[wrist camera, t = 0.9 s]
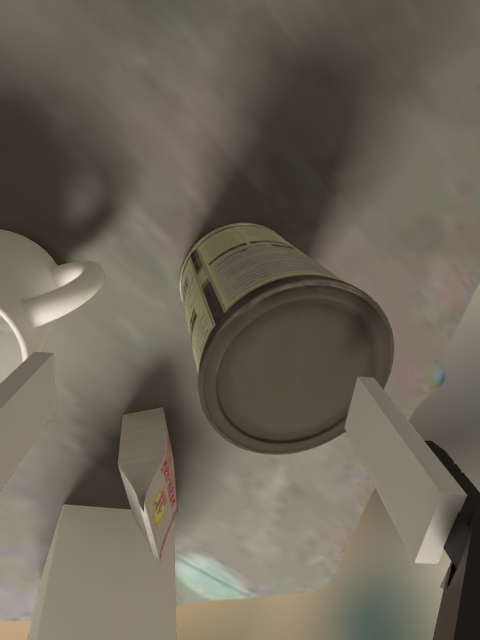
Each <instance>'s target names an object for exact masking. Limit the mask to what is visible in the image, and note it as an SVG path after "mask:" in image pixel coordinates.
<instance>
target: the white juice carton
mask: <svg viewBox="0 0 480 640" xmlns="http://www.w3.org/2000/svg"><path fill="white" fill-rule="evenodd" d="M118 467H119V470H120V473H121V477H122V480H123V483H124V487H125V490H126V493H127V497H128V500H129V503H130V507H131V510H132V513H133V517H134V520H135V522H136V524H137V525H138V527H139V529H140V530H141V532H142V534H143V535H144V537H145V539H146V540H147V542H148V544H149V546H150V548H151V550H152V552H153V555H154V559H155V562H156V556H157V557H158V559H159V561H160V560H161V554H162V550H163V547H164V544H165V540H166V537H167V535H168V533H169V530H170V528H171V525H172V523H173V520H174V518H175V515H176V513H177V511H178V509H177V496H176V482H175V469H174V458H173V453H172V448H171V443H170V438H169V433H168V428H167V423H166V419H165V414H164V409H163V407H161V408H156V409H151V410H145V411H140V412H135V413H130V414H124V415H123V417H122V427H121V437H120V447H119V457H118Z"/></svg>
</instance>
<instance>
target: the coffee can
mask: <svg viewBox="0 0 480 640" xmlns="http://www.w3.org/2000/svg"><path fill="white" fill-rule="evenodd" d="M179 289H180V296H181V301H182V304H183V306H184V311H185V316H186V320H187V325H188V330H189V334H190V339H191V344H192V349H193V354H194V358H195V363H196V367H197V372H198V389H199V396H200V402H201V406H202V409H203V411H204V414H205V416H206V418H207V419H208V421H209V422H210V424H211V425H212V427H213V428H214V429H215V430H216V431H217V432H218V433H219V434H220V435H221V436H222V437H223V438H224V439H226V440H227V441H228V442H230V443H232V444H233V445H235V446H237V447H239V448H242V449H244V450H249V451H252V452H256V453H262V454H276V455H278V454H292V453H297V452H302V451H305V450H309V449H312V448H315V447H318V446H320V445H322V444H325V443H327V442H329V441H331V440H333V439H334V438H336V437H338V436H340V435H341V434H343V433H344V432H346V430H345V428H344V427H345V423H346V419H347V415H348V412H349V408H350V404H351V400H352V396H353V392H354V388H355V384H356V381H357V377H358V376H359V377H372V378H375V380H376V381H377V382H378V383H379V385H380V386H381V387H382V388H383V389H384V387H385V385H386V383H387V381H388V378H389V375H390V373H391V369H392V364H393V358H394V339H393V333H392V329H391V326H390V324H389V321H388V318H387V317H386V315H385V313H384V312H383V310H382V309H381V307H380V306H379V305H378V304H377V303H376V302H375V301H374V300H373V299H372V298H371V297H370V296H369V295H368V294H366V293H365V292H363V291H362V290H360V289H358V288H356V287H355V286H353V285H351V284H348V283H346V282H344V281H343V280H341V279H340V278H338V277H337V276H335V275H334V274H333V273H331V272H330V271H328V270H327V269H326V268H324V267H323V266H321V265H320V264H318V263H317V262H315V261H314V260H313V259H311V258H310V257H308V256H307V255H306V254H304V253H303V252H301V251H300V250H298V249H297V248H296V247H294V246H293V245H291V244H290V243H288V242H287V241H286V240H284V239H283V238H282V237H281V236H280V235H279V234H277V233H276V232H275V231H273V230H271V229H269V228H267V227H265V226H262V225H258V224H254V223H234V224H229V225H225V226H222V227H220V228H216V229H214V230H213V231H212V232H210V233H208V234H206V235H205V236H204V237H203V238H201V239H200V240H199V241H198V242H197V243H196V244H195V245H194V246H193V248H192V249H191V250H190V252H189V253H188V255H187V257H186V259H185V261H184V263H183V265H182V269H181V274H180V281H179Z"/></svg>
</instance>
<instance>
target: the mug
mask: <svg viewBox="0 0 480 640" xmlns="http://www.w3.org/2000/svg"><path fill="white" fill-rule="evenodd" d="M104 278H105V273H104V270H103V268H102V267H101V265H99V264H97V263H96V262H93V261H76V262H71V263H67V264H62V265H58V266H57V264H56V263H55V261H54V260H53V259H52V257H51V256H50V255H49V254H48V253H47V252H46V251H45V250H44V249H43V248H42V247H40V246H39V245H38V244H36V243H35V242H33V241H32V240H30V239H28V238H26V237H24V236H22V235H20V234H17V233H14V232H11V231H7V230H1V229H0V383H1V382H2V381H3V380H4V379H6V378H7V377H8V376H9V375H10V374H11V373H12V372H13V371H14V370H15V369H16V368H17V367H18V366H19V365H20V364H21V363H23V362H24V361H25V360H26V359H27V358H28V357H29V356H30V355H31V354H32V353H33V352H40V351H41V349H42V347H43V345H44V343H45V341H46V339H47V337H48V335H49V334H50V332H51V330H52V328H53V326H54V324H55V322H56V320H57V318H59V317H61V316H63V315H65V314H67V313H69V312H71V311H73V310H74V309H76V308H77V307H79V306H81V305H82V304H83V303H85V302H86V301H88V300H89V299H90V298H91V297H92V296H93V295H94V294H95V293H96V292H97V291H98V290H99V289H100V287H101V286H102V284H103V282H104Z"/></svg>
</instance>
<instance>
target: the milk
mask: <svg viewBox="0 0 480 640" xmlns="http://www.w3.org/2000/svg"><path fill="white" fill-rule="evenodd" d="M28 640H176V588H175V535H174V520H173V523H172V525H171V528H170V530H169V533H168V535H167V537H166V540H165V544H164V547H163V550H162V554H161V560H160V561H159V559H158V557H157V556H156V562H155V559H154V555H153V552H152V550H151V548H150V546H149V544H148V542H147V540H146V539H145V537H144V535H143V534H142V532H141V530H140V529H139V527H138V525H137V524H136V522H135V520H134V517H133V513H132V510H129V509H116V508H104V507H91V506H78V505H65V504H63V506H62V510H61V513H60V516H59V520H58V523H57V526H56V530H55V533H54V536H53V540H52V543H51V546H50V550H49V553H48V556H47V560H46V563H45V566H44V570H43V573H42V576H41V579H40V584H39V589H38V593H37V598H36V603H35V608H34V612H33V617H32V622H31V627H30V632H29V636H28Z"/></svg>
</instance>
